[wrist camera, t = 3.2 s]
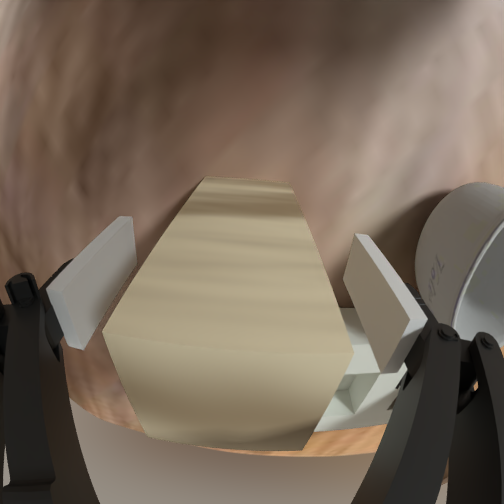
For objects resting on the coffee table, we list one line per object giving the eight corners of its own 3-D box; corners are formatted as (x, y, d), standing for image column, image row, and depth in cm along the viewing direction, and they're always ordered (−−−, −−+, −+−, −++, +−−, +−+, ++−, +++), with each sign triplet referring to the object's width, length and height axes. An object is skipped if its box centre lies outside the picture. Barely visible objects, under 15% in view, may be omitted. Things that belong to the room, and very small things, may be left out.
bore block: (266, 304, 21) (267, 343, 17) (480, 306, 21) (499, 331, 18) (252, 399, 27) (251, 431, 23) (428, 388, 27) (438, 412, 24)
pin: (205, 176, 16) (101, 331, 5) (289, 182, 17) (354, 353, 5) (204, 250, 19) (147, 436, 7) (279, 256, 19) (302, 450, 7)
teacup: (372, 233, 18) (427, 306, 11) (471, 137, 14) (553, 166, 7) (439, 328, 22) (475, 389, 15) (513, 257, 19) (561, 303, 11)
